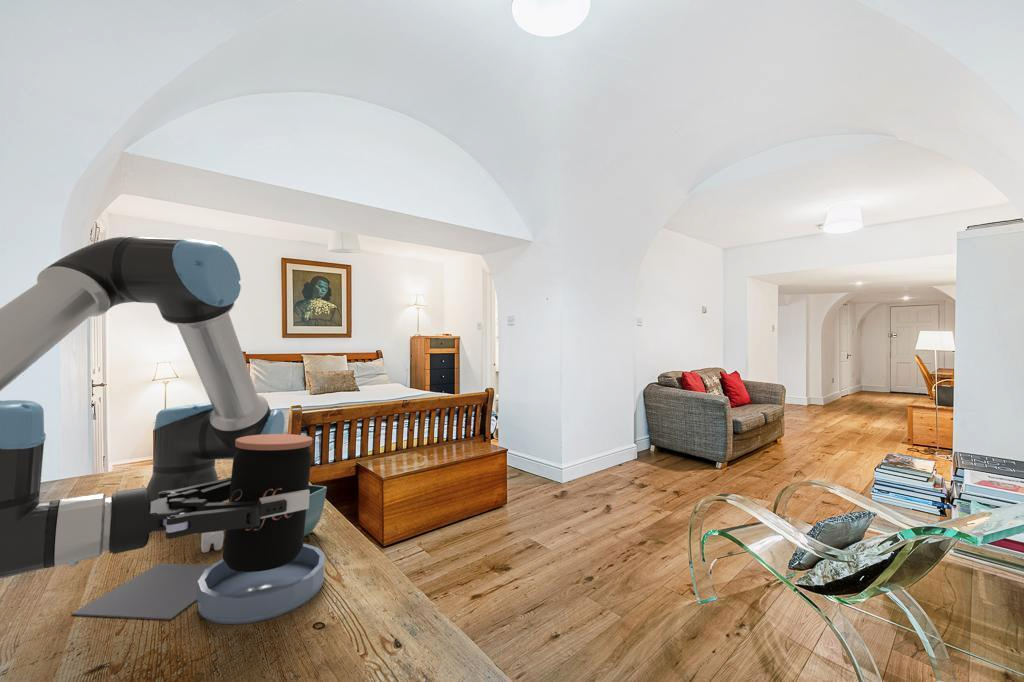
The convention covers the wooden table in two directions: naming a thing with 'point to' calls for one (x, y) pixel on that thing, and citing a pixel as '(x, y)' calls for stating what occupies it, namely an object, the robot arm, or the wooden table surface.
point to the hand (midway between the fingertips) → (296, 489)
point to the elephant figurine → (211, 540)
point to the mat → (150, 594)
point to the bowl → (259, 589)
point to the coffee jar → (263, 473)
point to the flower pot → (314, 507)
